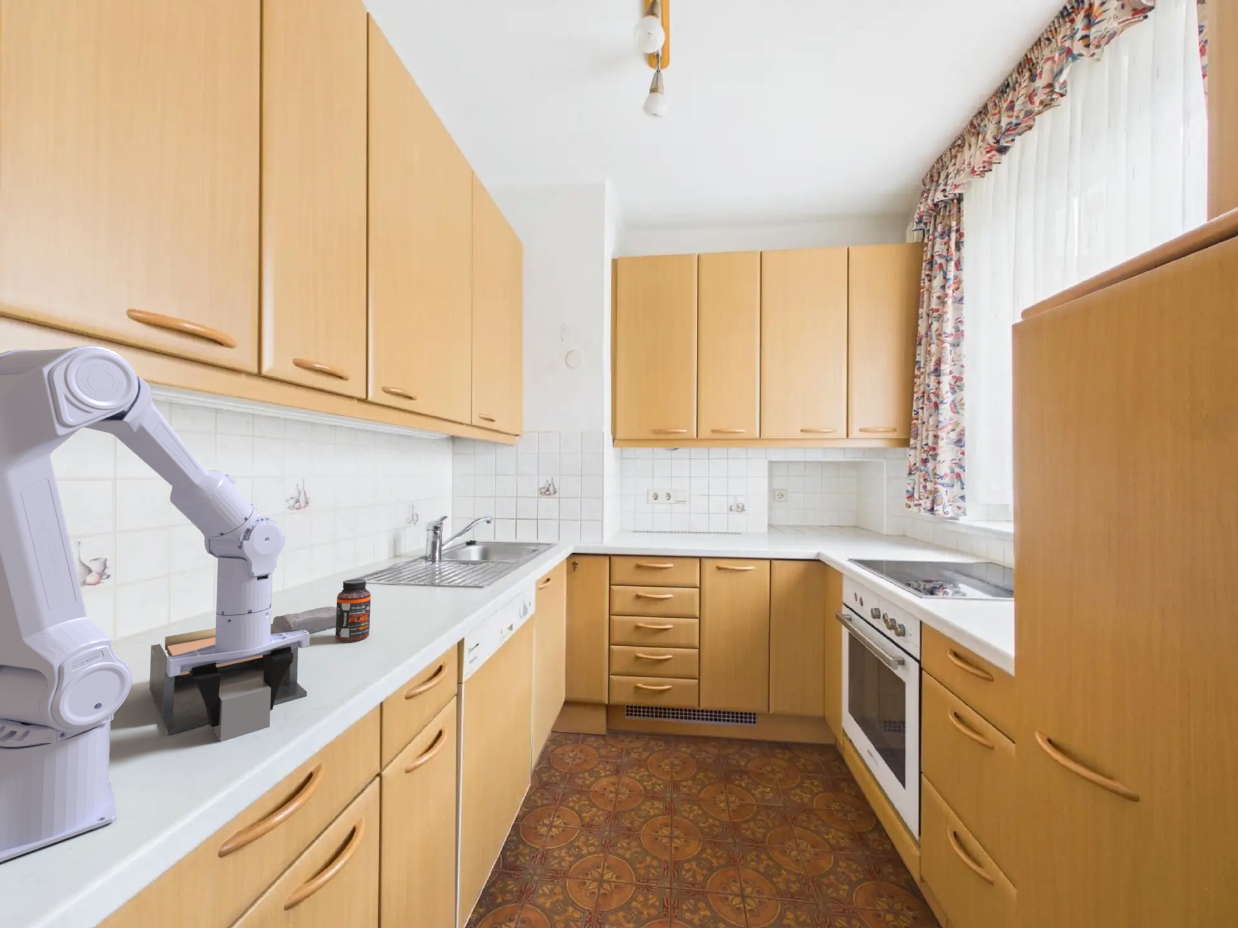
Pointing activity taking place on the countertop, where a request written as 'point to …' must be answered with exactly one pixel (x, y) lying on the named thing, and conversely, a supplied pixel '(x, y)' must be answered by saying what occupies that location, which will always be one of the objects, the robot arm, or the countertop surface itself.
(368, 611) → the supplement bottle
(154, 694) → the trapdoor frame
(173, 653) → the trapdoor
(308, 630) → the stone block
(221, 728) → the grey cube
